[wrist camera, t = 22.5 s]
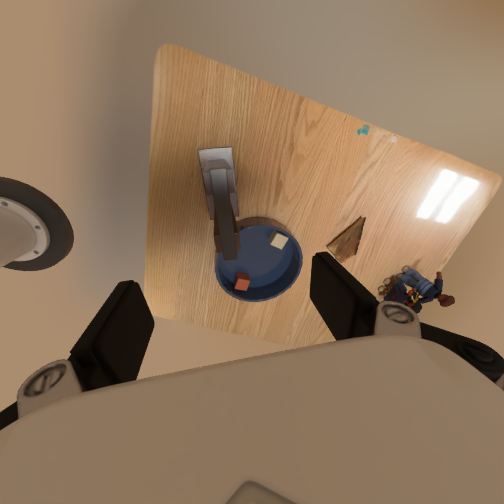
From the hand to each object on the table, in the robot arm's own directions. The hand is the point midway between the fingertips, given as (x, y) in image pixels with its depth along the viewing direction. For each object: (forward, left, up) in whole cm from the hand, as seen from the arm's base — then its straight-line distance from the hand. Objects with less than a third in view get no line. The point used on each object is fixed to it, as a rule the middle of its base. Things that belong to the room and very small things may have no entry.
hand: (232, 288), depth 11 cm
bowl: (+6, -17, -33) cm, 38 cm away
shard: (+28, -16, -34) cm, 46 cm away
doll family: (+46, -36, -34) cm, 67 cm away
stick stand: (0, 0, -33) cm, 33 cm away
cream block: (+11, -12, -33) cm, 37 cm away
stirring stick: (0, 0, -13) cm, 13 cm away
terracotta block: (+2, -22, -33) cm, 40 cm away
